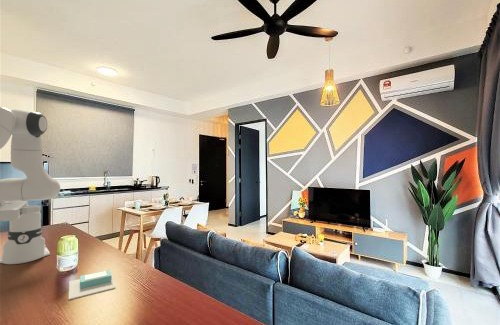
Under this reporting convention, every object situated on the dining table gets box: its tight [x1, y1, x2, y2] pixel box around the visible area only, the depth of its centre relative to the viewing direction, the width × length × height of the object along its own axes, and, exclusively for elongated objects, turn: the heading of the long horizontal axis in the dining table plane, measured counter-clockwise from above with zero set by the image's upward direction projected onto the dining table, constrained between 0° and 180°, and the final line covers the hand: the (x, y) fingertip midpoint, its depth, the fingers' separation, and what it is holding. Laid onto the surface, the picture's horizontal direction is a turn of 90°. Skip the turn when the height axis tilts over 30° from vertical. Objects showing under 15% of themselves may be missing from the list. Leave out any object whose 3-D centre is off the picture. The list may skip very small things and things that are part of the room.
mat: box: [68, 277, 116, 301], centre depth 91 cm, size 15×14×1 cm
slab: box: [79, 269, 113, 289], centre depth 93 cm, size 6×3×10 cm
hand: (40, 208), depth 87 cm, fingers closed
